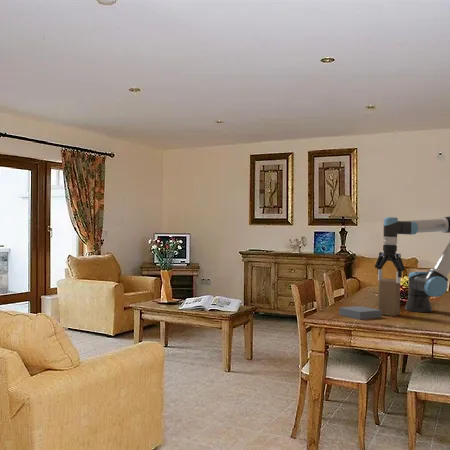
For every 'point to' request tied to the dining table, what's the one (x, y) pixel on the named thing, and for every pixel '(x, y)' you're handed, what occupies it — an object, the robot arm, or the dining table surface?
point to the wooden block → (389, 297)
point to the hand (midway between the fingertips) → (388, 281)
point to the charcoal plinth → (360, 312)
